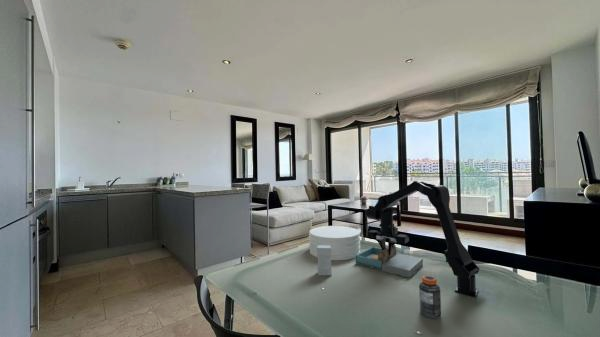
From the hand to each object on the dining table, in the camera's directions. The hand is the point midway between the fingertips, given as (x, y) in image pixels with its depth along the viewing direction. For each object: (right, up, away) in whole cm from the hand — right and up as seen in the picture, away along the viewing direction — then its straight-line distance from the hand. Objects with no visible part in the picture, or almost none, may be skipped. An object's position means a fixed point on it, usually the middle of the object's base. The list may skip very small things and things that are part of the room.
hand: (387, 254), depth 122 cm
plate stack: (-22, -6, +21) cm, 31 cm away
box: (-4, -5, +4) cm, 7 cm away
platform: (+5, -5, -5) cm, 9 cm away
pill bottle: (-1, -5, -42) cm, 42 cm away
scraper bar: (0, -1, 0) cm, 1 cm away
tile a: (-5, -4, -1) cm, 6 cm away
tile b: (0, -4, +5) cm, 6 cm away
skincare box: (-31, -6, -10) cm, 33 cm away
